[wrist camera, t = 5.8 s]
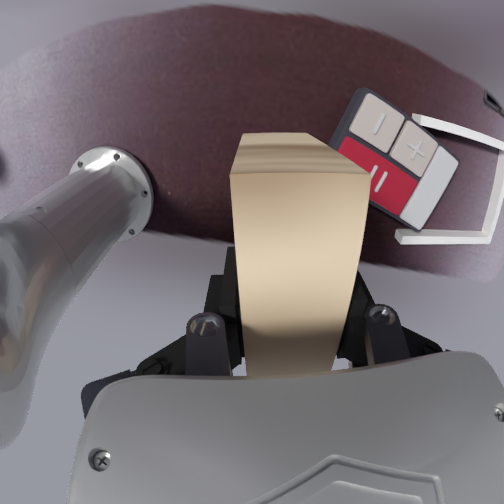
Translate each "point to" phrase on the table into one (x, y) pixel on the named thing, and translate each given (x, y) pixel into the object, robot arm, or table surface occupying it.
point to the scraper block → (295, 248)
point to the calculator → (395, 158)
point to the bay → (500, 190)
